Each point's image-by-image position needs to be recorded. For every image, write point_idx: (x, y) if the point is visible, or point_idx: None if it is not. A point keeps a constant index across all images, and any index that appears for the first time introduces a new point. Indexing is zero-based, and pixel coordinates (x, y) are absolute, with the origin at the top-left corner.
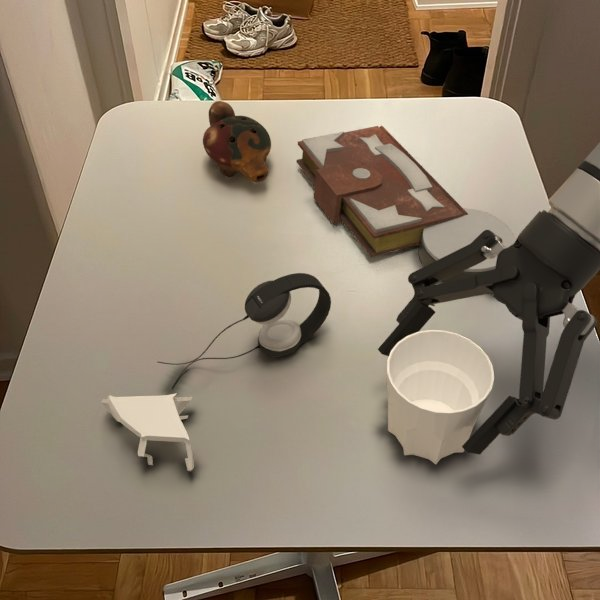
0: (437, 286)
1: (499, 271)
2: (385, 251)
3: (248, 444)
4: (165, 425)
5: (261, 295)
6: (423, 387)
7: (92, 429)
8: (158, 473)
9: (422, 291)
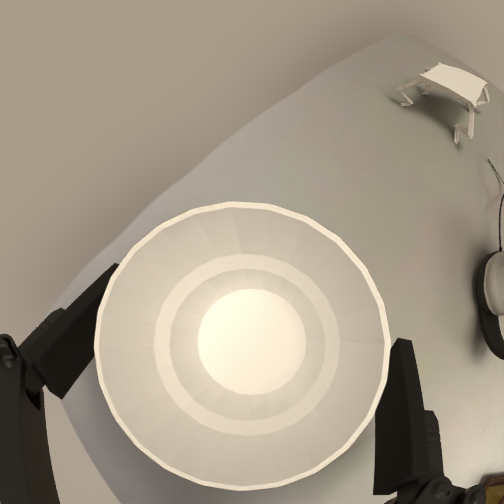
0: None
1: None
2: None
3: (399, 153)
4: (443, 76)
5: None
6: (298, 381)
7: None
8: (411, 91)
9: (438, 499)
